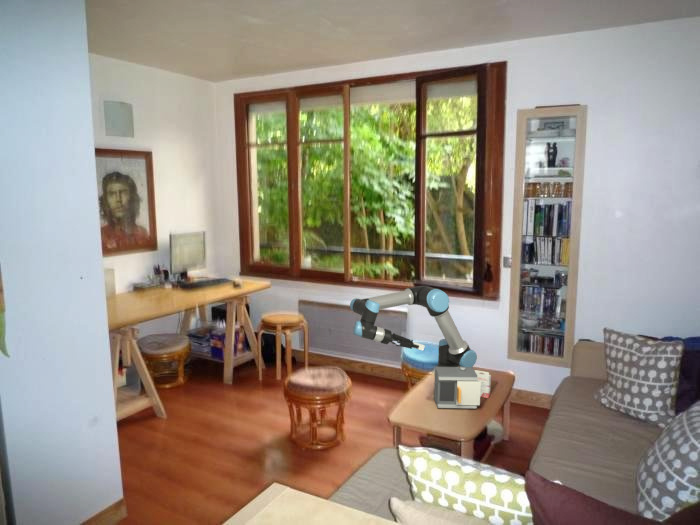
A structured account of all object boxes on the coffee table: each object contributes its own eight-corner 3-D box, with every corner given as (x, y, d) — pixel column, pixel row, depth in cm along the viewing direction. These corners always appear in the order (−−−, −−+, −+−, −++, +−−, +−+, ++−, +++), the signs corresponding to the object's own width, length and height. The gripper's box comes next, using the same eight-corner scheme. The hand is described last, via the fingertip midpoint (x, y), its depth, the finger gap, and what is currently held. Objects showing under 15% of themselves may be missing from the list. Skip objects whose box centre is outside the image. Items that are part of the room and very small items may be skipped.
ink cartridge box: (490, 395, 279) (491, 369, 277) (488, 398, 275) (489, 372, 273) (474, 392, 283) (476, 367, 281) (472, 395, 279) (473, 370, 277)
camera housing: (433, 398, 275) (435, 364, 272) (470, 398, 274) (472, 365, 271) (437, 409, 261) (439, 374, 258) (476, 410, 260) (478, 374, 258)
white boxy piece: (456, 404, 262) (457, 380, 260) (479, 404, 262) (480, 380, 260) (458, 408, 256) (459, 384, 254) (481, 409, 256) (483, 384, 254)
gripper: (377, 337, 270) (418, 349, 274) (381, 346, 257) (424, 359, 261) (382, 324, 268) (423, 337, 272) (386, 333, 256) (429, 346, 260)
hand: (423, 347), depth 267 cm, fingers closed
